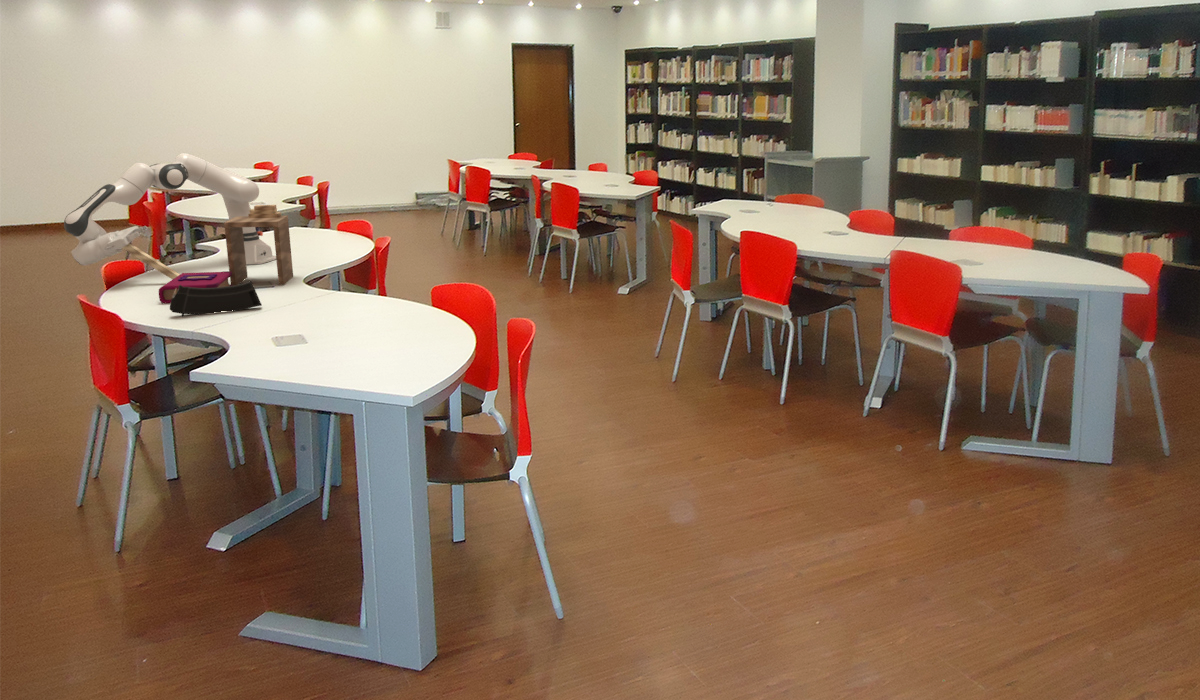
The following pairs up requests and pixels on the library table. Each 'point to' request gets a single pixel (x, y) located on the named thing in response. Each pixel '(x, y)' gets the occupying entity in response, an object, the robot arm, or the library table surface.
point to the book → (194, 283)
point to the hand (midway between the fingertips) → (142, 230)
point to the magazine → (214, 299)
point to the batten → (151, 261)
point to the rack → (236, 249)
